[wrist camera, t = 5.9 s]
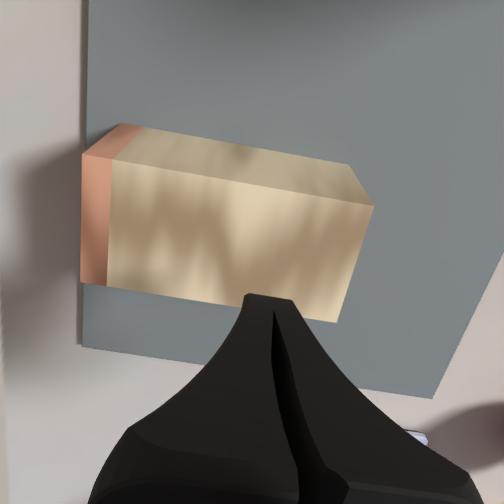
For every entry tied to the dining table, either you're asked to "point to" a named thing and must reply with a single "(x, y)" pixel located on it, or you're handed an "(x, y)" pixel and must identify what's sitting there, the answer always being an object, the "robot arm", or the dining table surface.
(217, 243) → the beech block
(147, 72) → the slate mat
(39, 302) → the dining table surface
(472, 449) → the dining table surface
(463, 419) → the dining table surface
